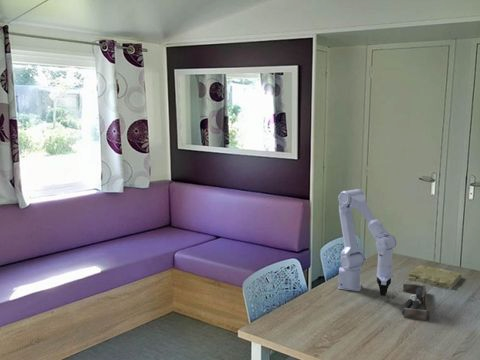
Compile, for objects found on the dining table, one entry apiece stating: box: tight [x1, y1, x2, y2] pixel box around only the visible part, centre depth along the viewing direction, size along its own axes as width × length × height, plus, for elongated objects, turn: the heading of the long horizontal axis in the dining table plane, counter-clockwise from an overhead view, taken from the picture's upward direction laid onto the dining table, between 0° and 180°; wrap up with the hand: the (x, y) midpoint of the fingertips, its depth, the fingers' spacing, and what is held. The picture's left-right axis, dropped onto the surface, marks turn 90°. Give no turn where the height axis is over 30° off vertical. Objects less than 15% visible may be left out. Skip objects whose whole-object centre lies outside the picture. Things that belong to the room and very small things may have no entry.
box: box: [402, 282, 430, 321], centre depth 201 cm, size 9×28×4 cm, turn 163°
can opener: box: [401, 288, 424, 316], centre depth 198 cm, size 19×5×6 cm, turn 147°
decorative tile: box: [407, 264, 462, 290], centre depth 230 cm, size 19×20×4 cm
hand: (383, 295), depth 205 cm, fingers closed
